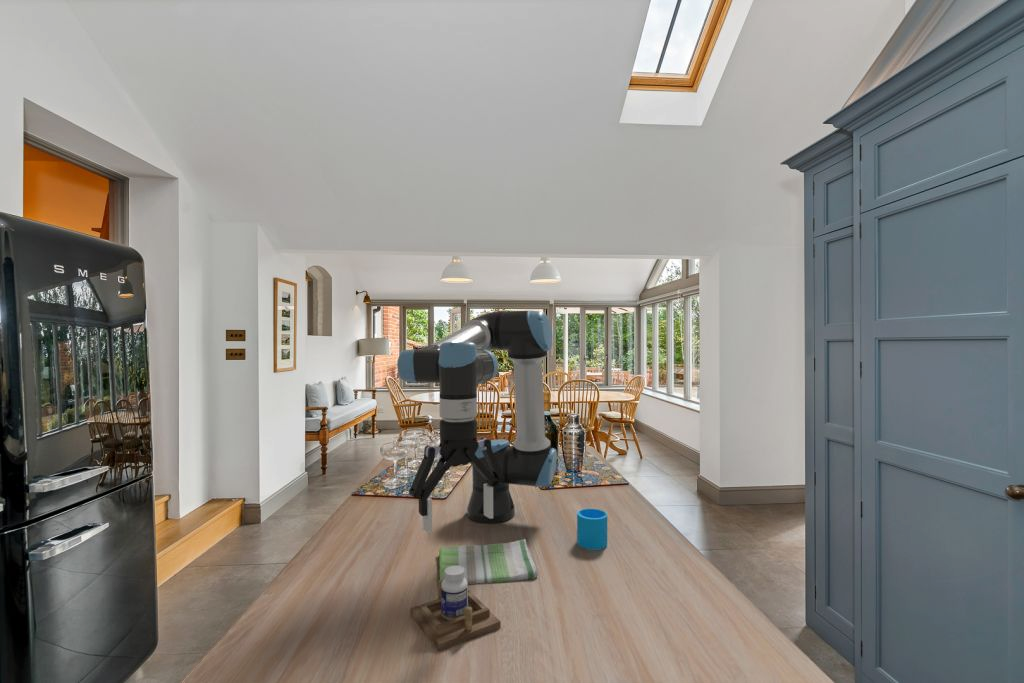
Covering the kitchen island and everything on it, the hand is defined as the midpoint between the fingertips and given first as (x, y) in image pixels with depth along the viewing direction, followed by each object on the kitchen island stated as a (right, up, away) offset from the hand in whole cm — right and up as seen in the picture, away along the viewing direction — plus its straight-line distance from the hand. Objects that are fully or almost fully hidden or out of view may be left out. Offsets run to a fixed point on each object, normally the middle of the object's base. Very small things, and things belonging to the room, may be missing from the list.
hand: (459, 523), depth 98 cm
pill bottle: (-1, -18, -1) cm, 18 cm away
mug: (+32, -19, +37) cm, 52 cm away
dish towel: (+4, -19, +22) cm, 30 cm away
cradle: (-1, -19, -1) cm, 19 cm away
